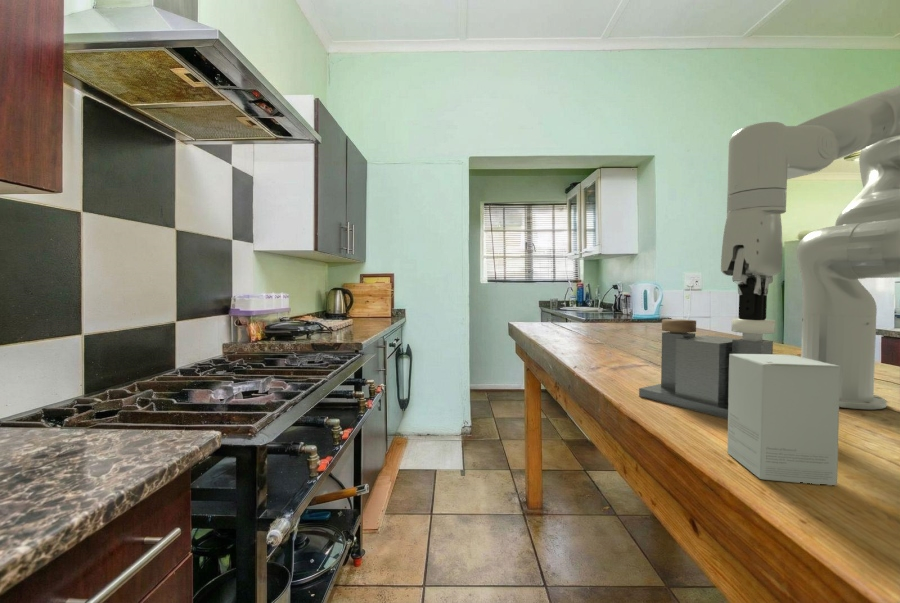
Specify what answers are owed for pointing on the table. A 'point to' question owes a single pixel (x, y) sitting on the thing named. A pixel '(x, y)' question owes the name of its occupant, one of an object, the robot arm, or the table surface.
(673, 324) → the walnut plunger
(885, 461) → the table surface
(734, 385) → the supplement box
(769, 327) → the cream plunger
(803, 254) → the robot arm
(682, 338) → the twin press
